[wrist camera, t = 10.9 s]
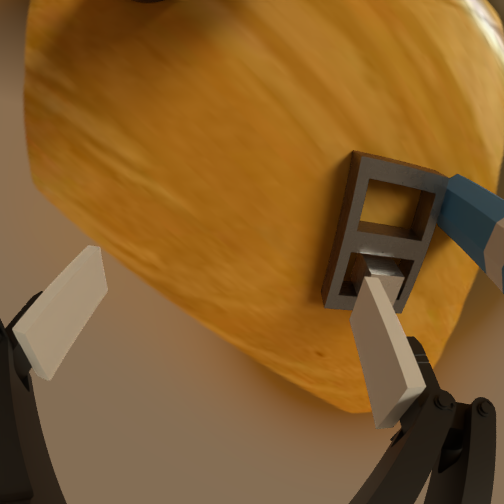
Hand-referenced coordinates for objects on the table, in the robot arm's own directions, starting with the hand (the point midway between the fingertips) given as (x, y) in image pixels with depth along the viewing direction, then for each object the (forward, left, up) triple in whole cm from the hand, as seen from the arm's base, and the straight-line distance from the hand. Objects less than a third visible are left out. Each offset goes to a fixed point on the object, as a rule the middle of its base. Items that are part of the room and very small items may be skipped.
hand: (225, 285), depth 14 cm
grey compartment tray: (+7, +19, -27) cm, 33 cm away
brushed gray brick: (+12, +19, -27) cm, 35 cm away
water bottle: (0, +31, -27) cm, 41 cm away
